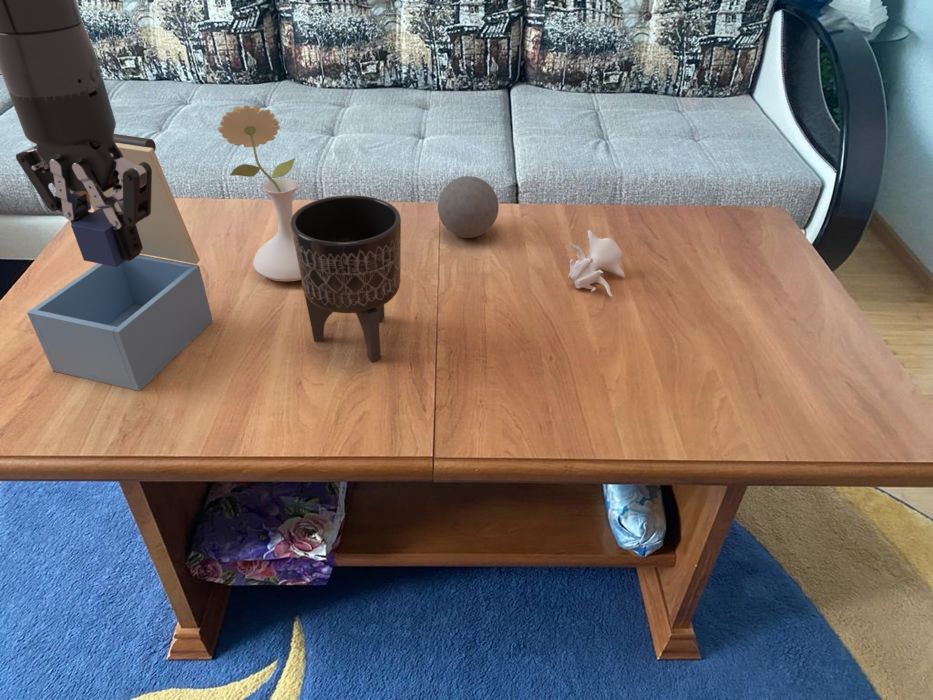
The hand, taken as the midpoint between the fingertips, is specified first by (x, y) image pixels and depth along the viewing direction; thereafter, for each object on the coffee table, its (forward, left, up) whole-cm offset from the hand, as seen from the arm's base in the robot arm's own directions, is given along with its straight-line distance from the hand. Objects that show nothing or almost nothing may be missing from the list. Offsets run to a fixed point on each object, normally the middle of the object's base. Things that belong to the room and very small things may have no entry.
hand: (113, 252), depth 70 cm
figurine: (+62, -8, -20) cm, 65 cm away
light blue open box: (0, +12, -19) cm, 23 cm away
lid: (+4, +16, -2) cm, 16 cm away
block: (0, 0, 0) cm, 0 cm away
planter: (+25, -2, -20) cm, 32 cm away
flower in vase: (+24, +20, -20) cm, 37 cm away
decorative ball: (+54, +15, -20) cm, 59 cm away
